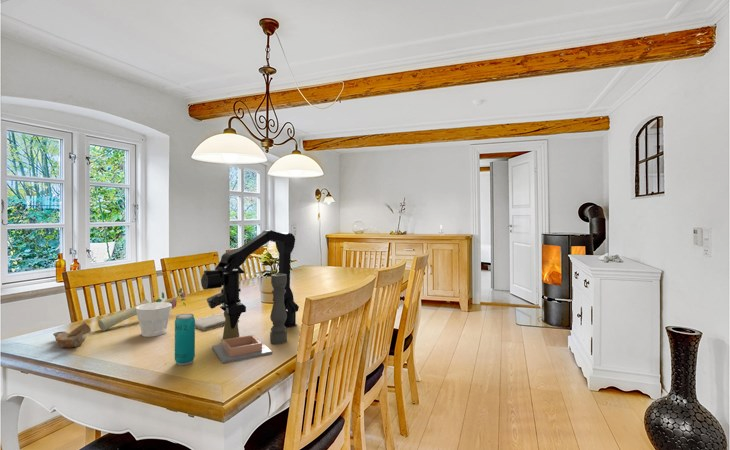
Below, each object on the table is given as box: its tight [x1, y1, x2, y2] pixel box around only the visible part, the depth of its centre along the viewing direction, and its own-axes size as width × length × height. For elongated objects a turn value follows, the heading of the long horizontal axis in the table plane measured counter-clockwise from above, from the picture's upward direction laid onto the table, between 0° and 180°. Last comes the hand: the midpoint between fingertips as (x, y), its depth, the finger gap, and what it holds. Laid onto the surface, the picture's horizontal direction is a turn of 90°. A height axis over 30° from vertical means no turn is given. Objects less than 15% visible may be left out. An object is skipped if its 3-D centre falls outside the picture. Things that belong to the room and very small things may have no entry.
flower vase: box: [97, 287, 187, 332], centre depth 162 cm, size 12×12×35 cm
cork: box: [222, 310, 240, 340], centre depth 140 cm, size 6×6×11 cm
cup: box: [136, 301, 172, 338], centre depth 145 cm, size 12×12×11 cm
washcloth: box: [195, 312, 240, 332], centre depth 159 cm, size 12×18×3 cm, turn 147°
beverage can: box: [174, 313, 196, 366], centre depth 117 cm, size 6×6×15 cm
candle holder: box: [269, 273, 288, 345], centre depth 138 cm, size 6×6×25 cm
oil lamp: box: [52, 321, 92, 349], centre depth 131 cm, size 9×21×10 cm, turn 60°
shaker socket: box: [212, 334, 273, 364], centre depth 128 cm, size 16×16×3 cm
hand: (231, 326), depth 140 cm, fingers closed on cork, 4 cm apart
